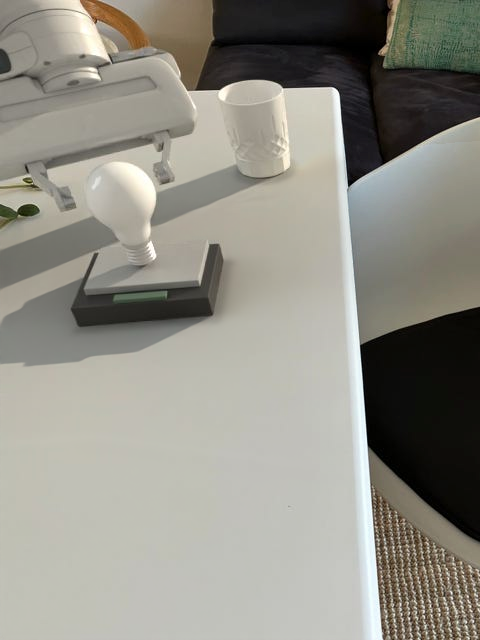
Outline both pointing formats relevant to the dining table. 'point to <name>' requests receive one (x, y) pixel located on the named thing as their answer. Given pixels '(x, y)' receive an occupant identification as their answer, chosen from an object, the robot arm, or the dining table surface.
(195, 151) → the dining table surface
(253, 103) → the white cup
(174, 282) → the scale
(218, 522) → the dining table surface
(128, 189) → the lightbulb
